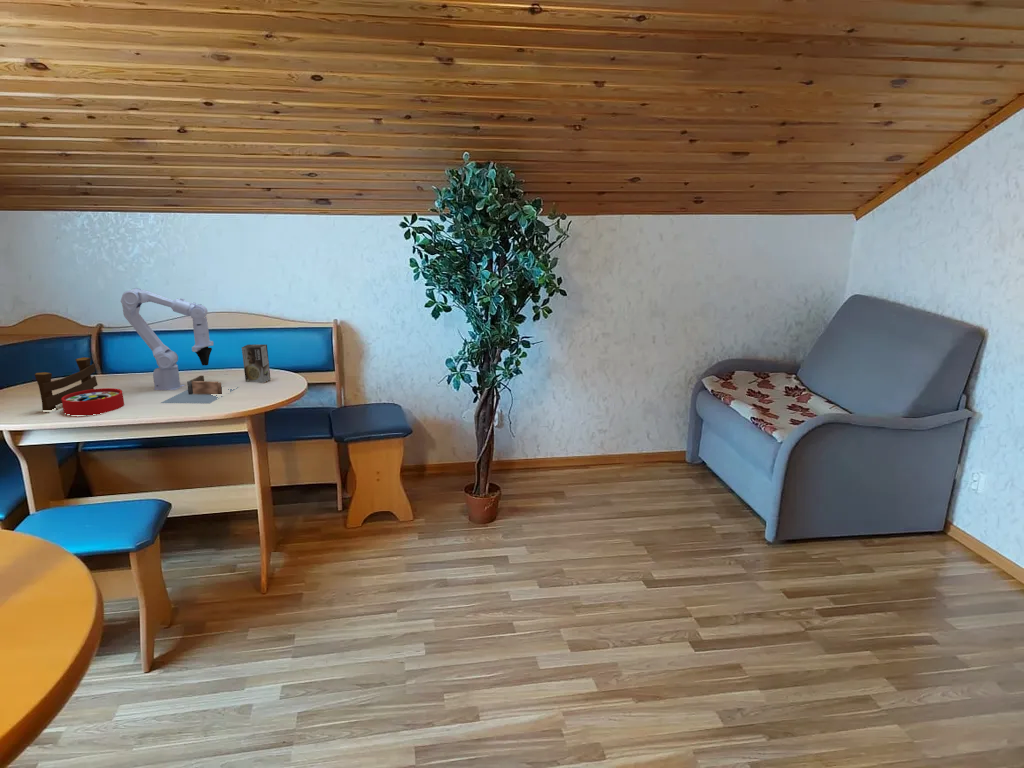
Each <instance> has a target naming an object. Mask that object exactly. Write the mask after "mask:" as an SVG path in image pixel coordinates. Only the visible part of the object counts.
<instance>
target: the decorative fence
mask: <svg viewBox="0 0 1024 768" xmlns="http://www.w3.org/2000/svg"><path fill="white" fill-rule="evenodd" d="M75 362H76V365H77V367H78V369H79V370H78V372H74V373H73V374H70V375H68V376H65V377H62V378H59V379H56V380H53V381H52V378H53V377H52V376H53V373H51V372H45V371H44V372H43V371H42V372H35V373H34V378H35V380H36V383H37V385H38V389H39V393H40V399H41V406H42V409H41V410H52V409H54V408H56V409H57V406H58V405H61V404H62V397H63V396H65V395H68V394H71V393H74V392H79V391H84V390H91V389H95V387H97V386H99V385H98V381H97V377H96V376H95V375H94V376H92V374H94V373H96V364H95V363H92V364H91V357H85V356H84V357H79V358H75ZM79 381H81V383H79V384H77V385H75V386H73V387H70V388H68V389H65V390H63V391H62V392H58V393H56V394H53V391H57V390H60V389H63V388H65V387H68V386H70V385H73V384H75V383H78V382H79Z"/></svg>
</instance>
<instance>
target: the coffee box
mask: <svg viewBox="0 0 1024 768" xmlns="http://www.w3.org/2000/svg"><path fill="white" fill-rule="evenodd" d="M241 353H242V364H243V370H244V371H243V372H244V379H245V382H246V383H259V382H265V383H267V382H269V381H271V380H270V379H271V373H270V363H269V362H270V361H269V351H268V344H258V343H257V344H246V345H244V346H241ZM268 380H269V381H268ZM266 381H267V382H266Z"/></svg>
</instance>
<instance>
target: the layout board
mask: <svg viewBox="0 0 1024 768" xmlns="http://www.w3.org/2000/svg"><path fill="white" fill-rule="evenodd" d="M236 387H237V388H236V389H233V390H232V389H230V393H231V392H233V391H235V390H237V389H239V388H240V386H236ZM228 390H229V389H228ZM216 396H217V395H216ZM216 396H213V395H211V394H188V389H186V390H184V391H182V392H180V393H178V394H176V395H174V396H172V397H169V398H167V399H166V400H163V401H161V402H160V404H204V405H205V404H206V405H207V404H212V403H214V402H215V401H217V400H219V399H220V398H218V397H216ZM217 398H218V399H217ZM221 398H223V396H221Z"/></svg>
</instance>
